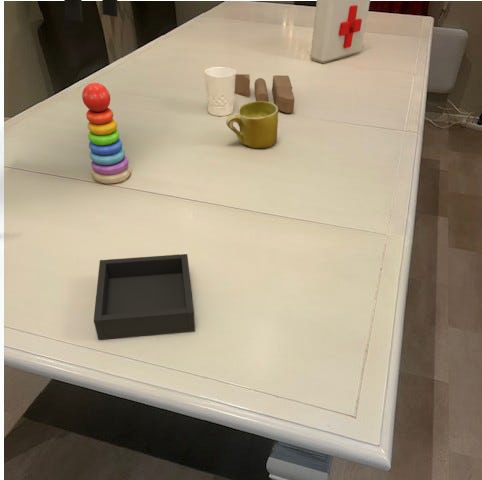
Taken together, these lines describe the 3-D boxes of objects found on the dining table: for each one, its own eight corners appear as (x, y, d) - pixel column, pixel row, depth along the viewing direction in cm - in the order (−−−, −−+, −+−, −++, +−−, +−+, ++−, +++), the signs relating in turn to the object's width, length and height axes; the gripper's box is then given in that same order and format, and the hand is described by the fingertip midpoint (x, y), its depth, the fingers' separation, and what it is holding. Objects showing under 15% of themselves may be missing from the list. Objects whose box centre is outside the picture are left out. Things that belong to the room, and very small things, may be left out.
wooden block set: (289, 70, 138) (296, 93, 124) (287, 91, 141) (294, 115, 128) (229, 69, 137) (230, 91, 124) (229, 90, 141) (230, 114, 128)
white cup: (207, 105, 132) (206, 66, 125) (235, 106, 131) (236, 67, 125) (204, 116, 126) (203, 76, 119) (234, 117, 126) (235, 77, 119)
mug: (276, 122, 119) (273, 88, 110) (284, 152, 114) (282, 118, 106) (227, 133, 120) (221, 99, 111) (234, 163, 115) (227, 130, 106)
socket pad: (98, 340, 67) (93, 320, 65) (103, 278, 77) (99, 260, 74) (195, 331, 69) (193, 312, 66) (188, 272, 79) (187, 253, 76)
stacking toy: (95, 167, 104) (77, 75, 91) (132, 166, 105) (119, 75, 92) (89, 185, 98) (69, 90, 86) (129, 185, 99) (114, 90, 86)
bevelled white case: (326, 65, 159) (335, -5, 146) (308, 60, 164) (315, -10, 150) (364, 54, 170) (377, -13, 156) (346, 49, 174) (357, -17, 160)
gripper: (66, -157, 64) (78, 26, 76) (140, -124, 84) (140, 16, 96) (14, -163, 65) (34, 18, 77) (100, -130, 85) (105, 10, 97)
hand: (93, 18), depth 87 cm, fingers open, 13 cm apart
